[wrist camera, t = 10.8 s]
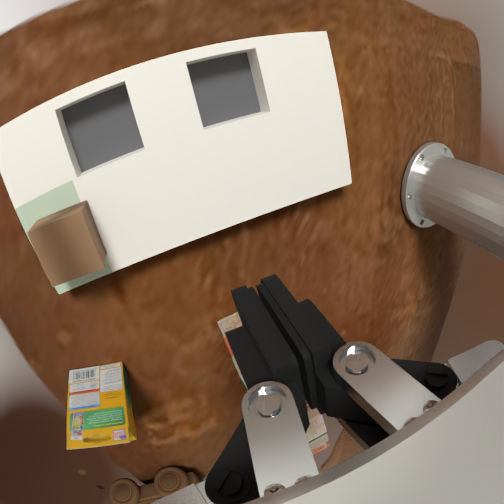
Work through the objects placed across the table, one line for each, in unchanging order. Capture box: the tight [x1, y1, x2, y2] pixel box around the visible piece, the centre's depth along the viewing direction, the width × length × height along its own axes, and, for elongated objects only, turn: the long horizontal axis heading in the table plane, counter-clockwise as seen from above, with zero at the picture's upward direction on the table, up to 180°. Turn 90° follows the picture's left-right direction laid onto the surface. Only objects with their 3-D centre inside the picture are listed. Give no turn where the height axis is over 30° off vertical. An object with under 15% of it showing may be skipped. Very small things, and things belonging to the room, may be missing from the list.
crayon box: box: [67, 361, 137, 450], centre depth 28 cm, size 7×3×12 cm, turn 92°
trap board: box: [0, 31, 352, 294], centre depth 25 cm, size 31×16×2 cm, turn 103°
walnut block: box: [27, 200, 107, 287], centre depth 22 cm, size 5×5×3 cm
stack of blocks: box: [217, 312, 330, 456], centre depth 36 cm, size 21×6×12 cm, turn 16°
